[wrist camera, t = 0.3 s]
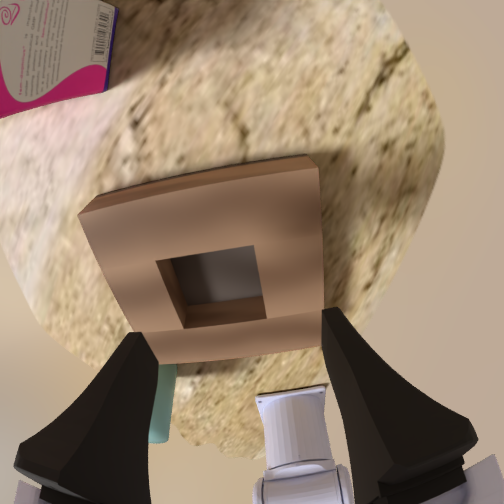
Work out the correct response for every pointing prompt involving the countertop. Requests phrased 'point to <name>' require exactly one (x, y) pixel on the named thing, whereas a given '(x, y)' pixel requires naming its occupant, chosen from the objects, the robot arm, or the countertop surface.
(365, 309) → the countertop surface
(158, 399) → the peg
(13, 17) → the supplement box
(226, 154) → the countertop surface
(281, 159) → the socket block
